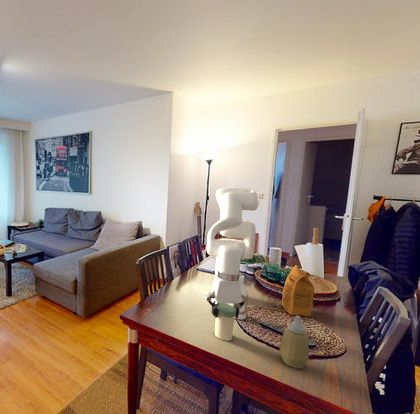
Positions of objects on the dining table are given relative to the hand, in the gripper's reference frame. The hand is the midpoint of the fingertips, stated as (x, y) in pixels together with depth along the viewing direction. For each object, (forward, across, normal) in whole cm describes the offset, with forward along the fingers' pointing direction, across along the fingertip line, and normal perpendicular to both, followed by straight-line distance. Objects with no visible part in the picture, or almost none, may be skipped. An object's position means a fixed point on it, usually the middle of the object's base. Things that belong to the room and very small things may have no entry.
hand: (224, 316), depth 113 cm
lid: (-3, 0, 0) cm, 3 cm away
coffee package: (+9, -45, -22) cm, 51 cm away
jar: (+9, 0, 0) cm, 9 cm away
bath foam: (+9, -14, -16) cm, 23 cm away
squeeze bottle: (+9, -16, +15) cm, 24 cm away
